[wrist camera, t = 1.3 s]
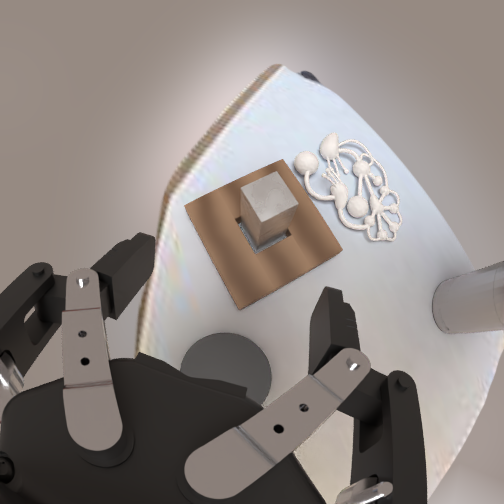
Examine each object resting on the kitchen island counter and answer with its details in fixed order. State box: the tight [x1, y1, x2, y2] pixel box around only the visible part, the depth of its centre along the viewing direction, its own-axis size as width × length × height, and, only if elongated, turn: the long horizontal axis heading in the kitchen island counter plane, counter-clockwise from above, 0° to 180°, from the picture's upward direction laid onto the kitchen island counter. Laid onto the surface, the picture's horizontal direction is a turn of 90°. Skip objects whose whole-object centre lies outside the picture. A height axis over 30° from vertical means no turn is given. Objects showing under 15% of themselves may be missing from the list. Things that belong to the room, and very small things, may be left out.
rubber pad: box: [180, 333, 271, 405], centre depth 35 cm, size 12×12×1 cm
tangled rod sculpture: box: [294, 133, 402, 241], centre depth 42 cm, size 19×14×4 cm
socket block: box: [184, 159, 343, 311], centre depth 40 cm, size 16×16×2 cm
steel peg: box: [241, 171, 299, 253], centre depth 35 cm, size 4×4×12 cm
